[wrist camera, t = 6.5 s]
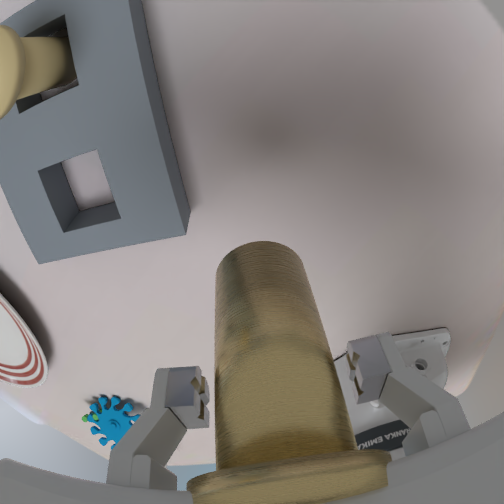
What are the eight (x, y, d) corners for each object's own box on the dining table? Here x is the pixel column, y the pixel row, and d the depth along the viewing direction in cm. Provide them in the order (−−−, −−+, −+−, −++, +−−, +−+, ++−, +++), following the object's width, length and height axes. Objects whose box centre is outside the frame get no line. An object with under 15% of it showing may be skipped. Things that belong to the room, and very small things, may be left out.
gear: (143, 406, 40) (142, 461, 38) (154, 396, 46) (151, 447, 44) (80, 388, 40) (80, 442, 38) (95, 382, 46) (95, 431, 44)
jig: (-10, 47, 14) (-94, 66, 6) (136, -28, 14) (78, -72, 5) (54, 242, 26) (6, 317, 17) (190, 212, 25) (174, 297, 17)
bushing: (319, 213, 12) (429, 466, 4) (322, 310, 16) (377, 503, 7) (182, 238, 13) (148, 508, 4) (214, 328, 16) (218, 528, 8)
